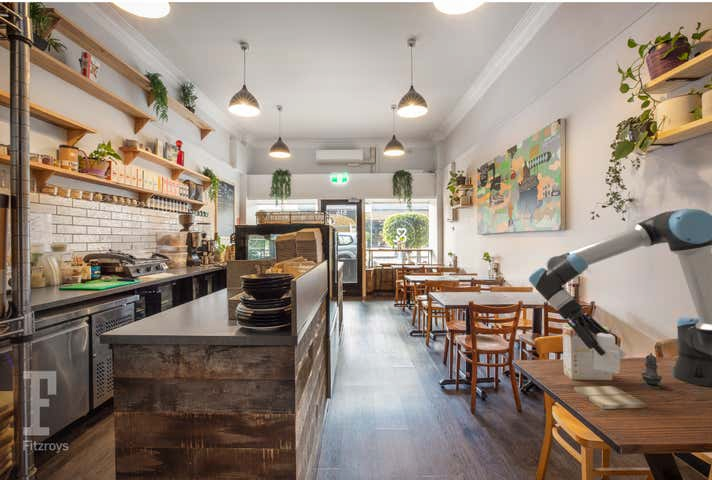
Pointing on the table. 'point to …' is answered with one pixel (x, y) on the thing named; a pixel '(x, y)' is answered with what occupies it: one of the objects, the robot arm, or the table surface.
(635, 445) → the table surface
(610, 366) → the medicine bottle
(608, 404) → the maple board
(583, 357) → the coffeecake box
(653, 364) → the grey chess piece
